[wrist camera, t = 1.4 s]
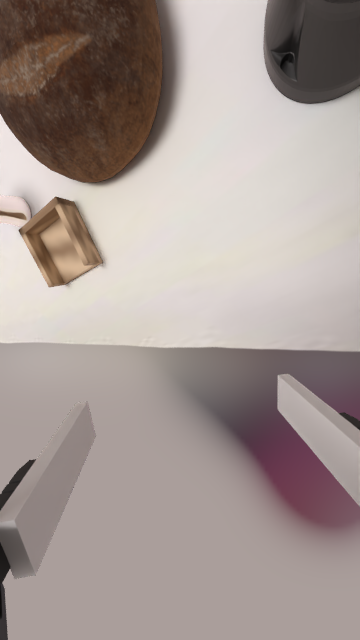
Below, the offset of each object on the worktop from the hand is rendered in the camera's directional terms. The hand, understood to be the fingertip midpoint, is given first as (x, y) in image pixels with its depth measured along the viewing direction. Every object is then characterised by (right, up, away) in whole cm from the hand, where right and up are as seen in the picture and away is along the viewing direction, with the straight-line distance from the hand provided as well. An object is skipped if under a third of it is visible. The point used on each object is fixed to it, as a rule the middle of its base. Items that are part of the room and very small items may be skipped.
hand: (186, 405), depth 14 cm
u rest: (-24, +21, +29) cm, 43 cm away
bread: (-14, +43, +19) cm, 49 cm away
